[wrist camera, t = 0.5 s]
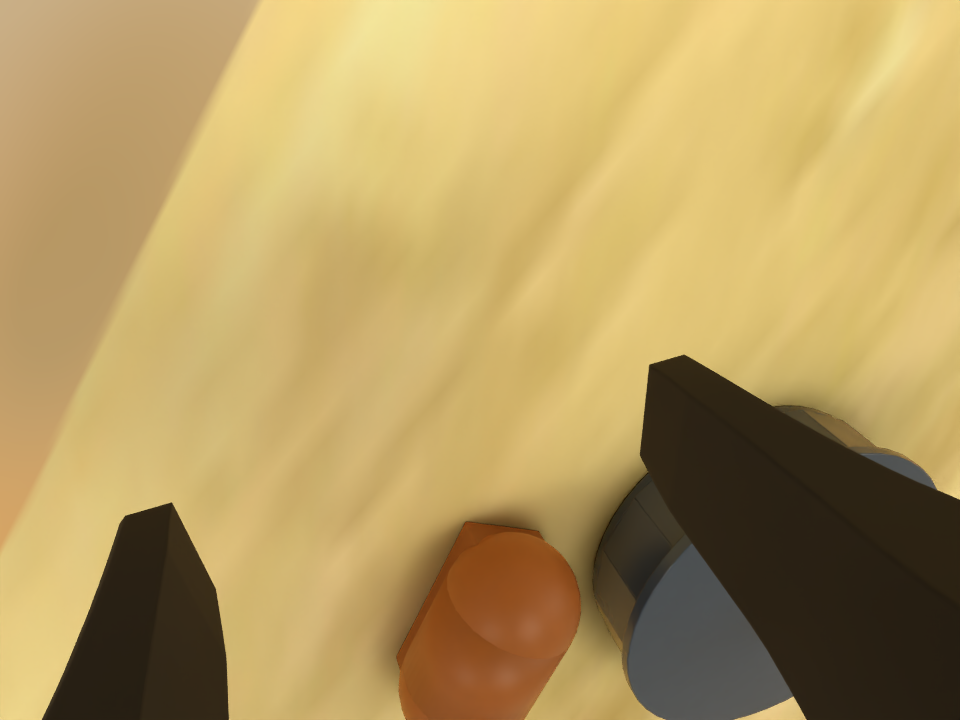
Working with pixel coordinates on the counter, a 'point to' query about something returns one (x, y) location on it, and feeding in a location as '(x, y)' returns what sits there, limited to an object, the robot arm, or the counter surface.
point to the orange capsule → (489, 628)
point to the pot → (664, 532)
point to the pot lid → (707, 635)
